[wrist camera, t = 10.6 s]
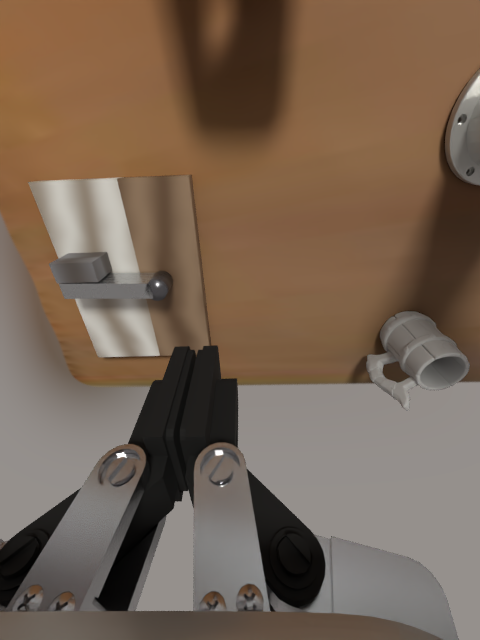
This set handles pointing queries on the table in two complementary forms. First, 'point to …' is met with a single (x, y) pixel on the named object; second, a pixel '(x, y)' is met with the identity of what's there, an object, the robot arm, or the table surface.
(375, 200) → the table surface
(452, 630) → the robot arm
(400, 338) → the mug
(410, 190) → the table surface
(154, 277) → the bar
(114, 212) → the door board
